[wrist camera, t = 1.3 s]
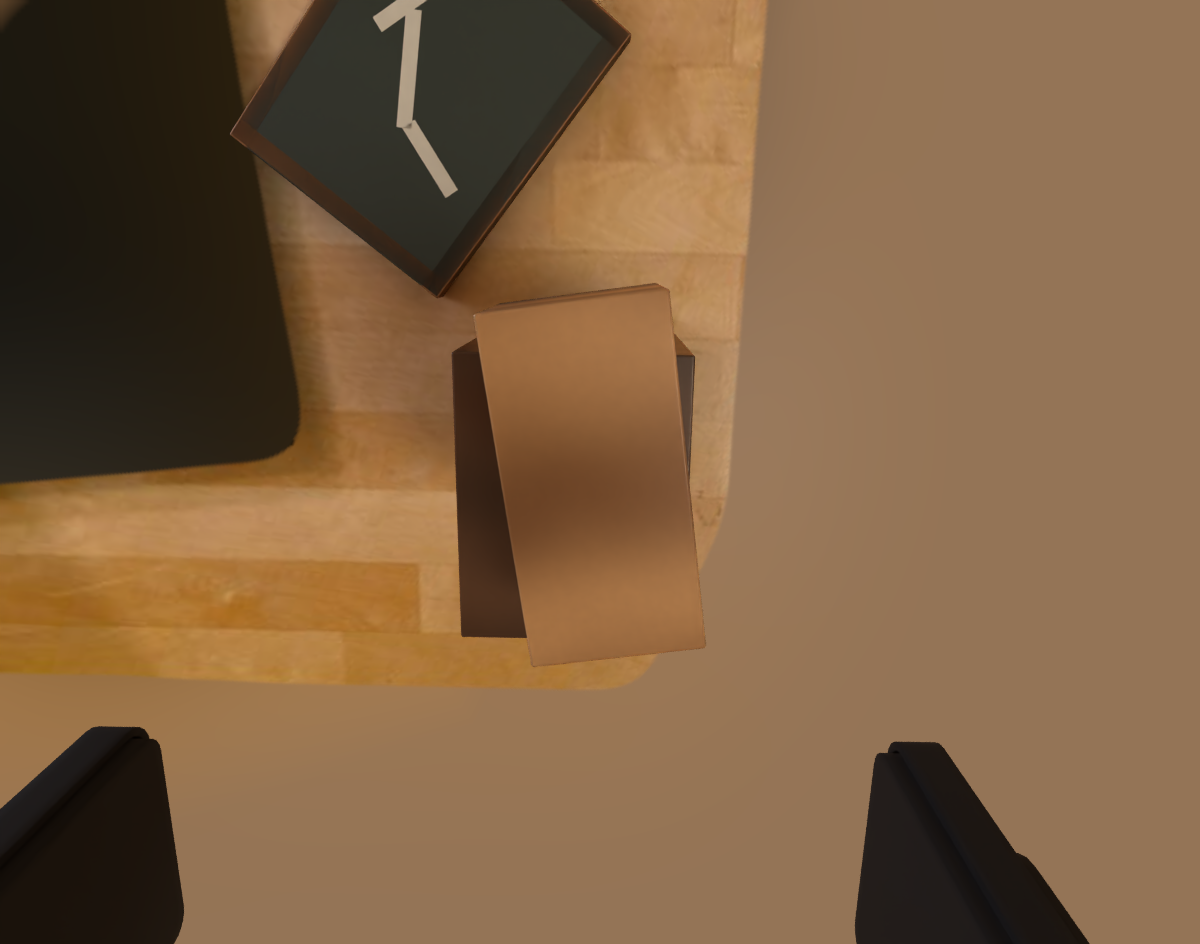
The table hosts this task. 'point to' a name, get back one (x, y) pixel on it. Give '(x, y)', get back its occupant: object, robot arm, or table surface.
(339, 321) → the table surface
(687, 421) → the desk box
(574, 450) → the eraser
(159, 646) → the table surface
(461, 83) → the slate board
